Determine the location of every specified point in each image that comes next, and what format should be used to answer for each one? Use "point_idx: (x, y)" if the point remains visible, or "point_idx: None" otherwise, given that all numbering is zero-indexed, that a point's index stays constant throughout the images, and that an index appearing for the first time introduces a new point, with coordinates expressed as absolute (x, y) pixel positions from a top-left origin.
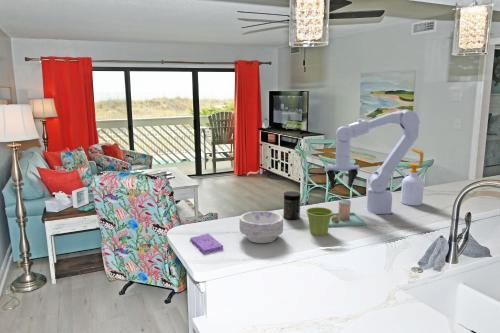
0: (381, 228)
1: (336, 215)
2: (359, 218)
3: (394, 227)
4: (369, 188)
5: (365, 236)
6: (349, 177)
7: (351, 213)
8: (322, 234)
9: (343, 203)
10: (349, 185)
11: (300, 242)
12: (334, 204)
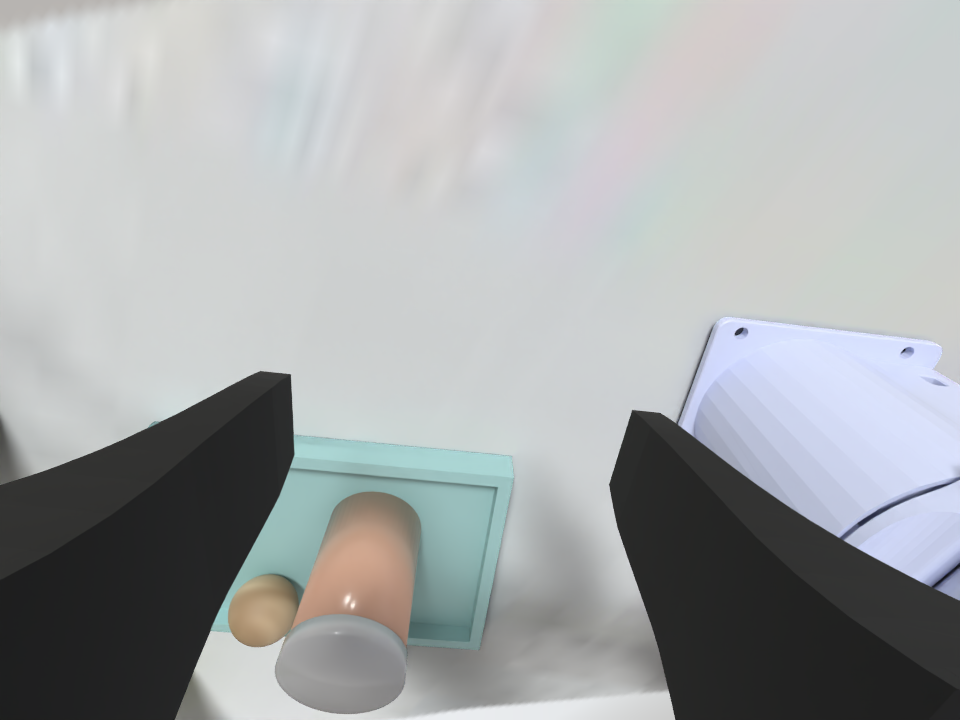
0: (551, 660)
1: (256, 642)
2: (480, 580)
3: (637, 663)
4: (898, 548)
5: (395, 713)
6: (719, 581)
7: (480, 481)
8: None
9: (309, 699)
10: (625, 481)
11: None
12: (496, 61)
